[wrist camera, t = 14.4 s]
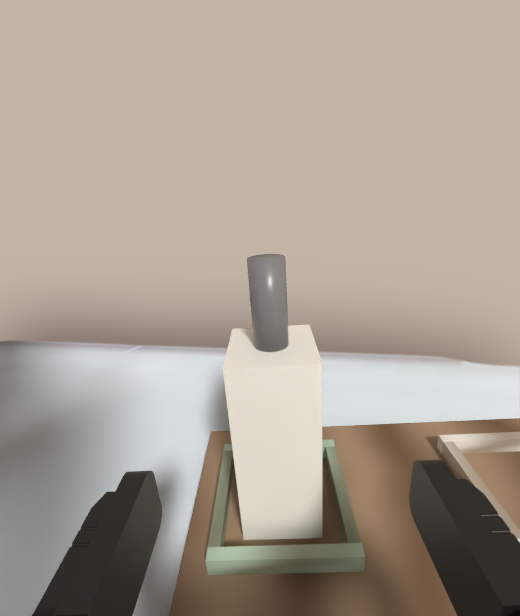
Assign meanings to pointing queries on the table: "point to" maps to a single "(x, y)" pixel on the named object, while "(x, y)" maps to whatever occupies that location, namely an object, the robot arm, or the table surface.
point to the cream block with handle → (275, 413)
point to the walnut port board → (343, 526)
